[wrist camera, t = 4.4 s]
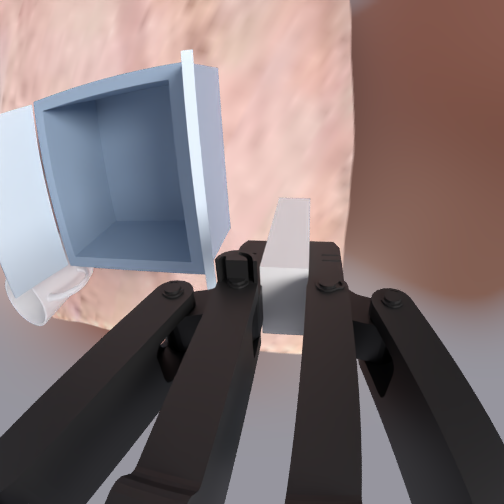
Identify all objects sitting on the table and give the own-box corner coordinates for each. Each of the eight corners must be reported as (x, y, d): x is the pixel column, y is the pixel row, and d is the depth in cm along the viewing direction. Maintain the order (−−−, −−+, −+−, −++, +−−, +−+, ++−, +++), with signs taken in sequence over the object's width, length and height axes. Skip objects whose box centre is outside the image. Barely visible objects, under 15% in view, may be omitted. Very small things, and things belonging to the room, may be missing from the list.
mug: (105, 234, 41) (52, 282, 31) (116, 286, 45) (74, 339, 35) (47, 229, 43) (-4, 269, 32) (60, 276, 47) (17, 320, 36)
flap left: (68, 264, 31) (66, 263, 31) (31, 104, 23) (29, 105, 23) (16, 298, 26) (14, 296, 26) (-35, 126, 17) (-36, 127, 18)
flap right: (214, 328, 22) (222, 327, 22) (180, 50, 14) (192, 49, 14) (206, 273, 28) (213, 272, 29) (183, 64, 20) (191, 63, 20)
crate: (113, 227, 40) (70, 265, 31) (90, 91, 31) (33, 102, 23) (230, 227, 37) (206, 274, 29) (217, 68, 29) (182, 62, 20)
